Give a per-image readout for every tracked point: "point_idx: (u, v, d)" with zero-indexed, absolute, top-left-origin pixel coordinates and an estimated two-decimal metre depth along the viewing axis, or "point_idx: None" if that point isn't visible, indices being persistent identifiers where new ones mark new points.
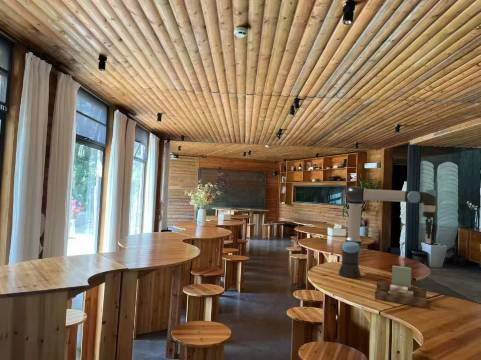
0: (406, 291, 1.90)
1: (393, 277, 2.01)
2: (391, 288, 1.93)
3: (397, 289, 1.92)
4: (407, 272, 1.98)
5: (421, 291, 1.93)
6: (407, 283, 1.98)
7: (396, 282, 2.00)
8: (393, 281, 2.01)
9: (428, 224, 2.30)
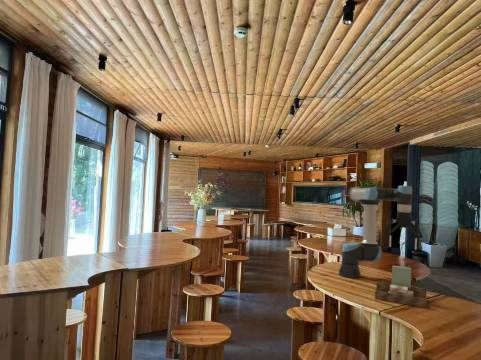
0: (406, 291, 1.90)
1: (393, 277, 2.01)
2: (391, 288, 1.93)
3: (397, 289, 1.92)
4: (407, 272, 1.98)
5: (421, 291, 1.93)
6: (407, 283, 1.98)
7: (396, 282, 2.00)
8: (393, 281, 2.01)
9: None
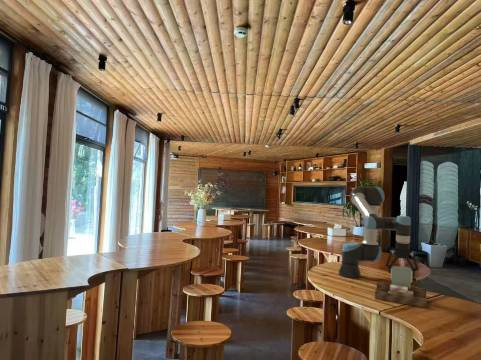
0: (406, 291, 1.90)
1: (393, 277, 2.01)
2: (391, 288, 1.93)
3: (397, 289, 1.92)
4: (407, 272, 1.98)
5: (421, 291, 1.93)
6: (407, 283, 1.98)
7: (396, 282, 2.00)
8: (393, 281, 2.01)
9: None
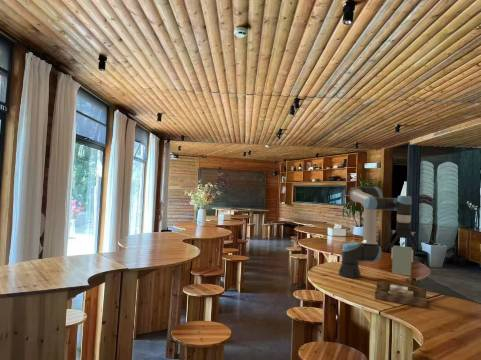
0: (406, 291, 1.90)
1: (394, 257, 2.01)
2: (391, 288, 1.93)
3: (397, 289, 1.92)
4: (408, 251, 1.98)
5: (421, 291, 1.93)
6: (408, 262, 1.98)
7: (397, 261, 2.00)
8: (394, 260, 2.01)
9: None
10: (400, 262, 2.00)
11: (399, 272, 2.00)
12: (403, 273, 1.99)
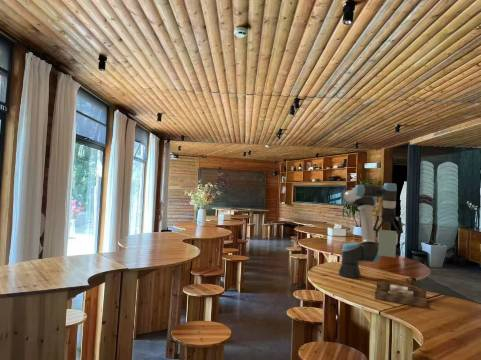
0: (406, 291, 1.90)
1: (380, 240, 2.15)
2: (391, 288, 1.93)
3: (397, 289, 1.92)
4: (393, 234, 2.12)
5: (421, 291, 1.93)
6: (393, 245, 2.12)
7: (383, 244, 2.15)
8: (380, 244, 2.15)
9: (376, 221, 2.18)
10: (385, 245, 2.14)
11: (384, 254, 2.14)
12: (388, 255, 2.13)
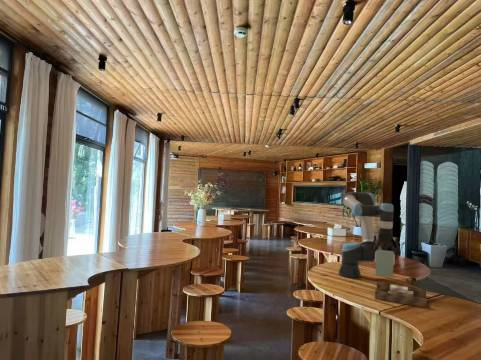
0: (406, 291, 1.90)
1: (377, 260, 2.17)
2: (391, 288, 1.93)
3: (397, 289, 1.92)
4: (390, 255, 2.14)
5: (421, 291, 1.93)
6: (390, 265, 2.13)
7: (380, 264, 2.16)
8: (377, 264, 2.17)
9: (373, 241, 2.20)
10: (383, 265, 2.15)
11: (382, 274, 2.15)
12: (386, 275, 2.14)
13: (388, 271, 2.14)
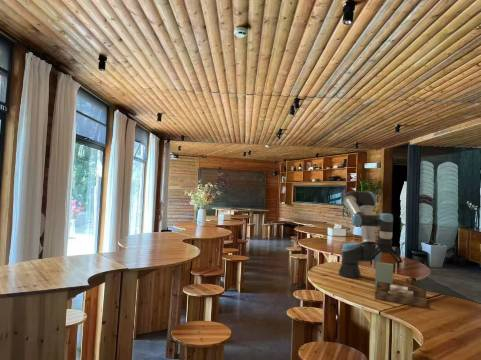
0: (406, 291, 1.90)
1: (376, 272, 2.17)
2: (391, 288, 1.93)
3: (397, 289, 1.92)
4: (389, 267, 2.14)
5: (421, 291, 1.93)
6: (389, 278, 2.13)
7: (379, 277, 2.16)
8: (376, 276, 2.17)
9: (372, 249, 2.20)
10: (382, 278, 2.15)
11: None
12: None
13: None
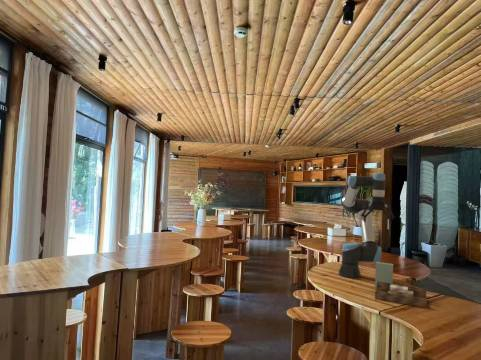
0: (406, 291, 1.90)
1: (376, 272, 2.17)
2: (391, 288, 1.93)
3: (397, 289, 1.92)
4: (389, 268, 2.14)
5: (421, 291, 1.93)
6: (389, 278, 2.13)
7: (379, 277, 2.16)
8: (376, 276, 2.17)
9: (365, 208, 2.32)
10: (382, 278, 2.15)
11: None
12: None
13: None
